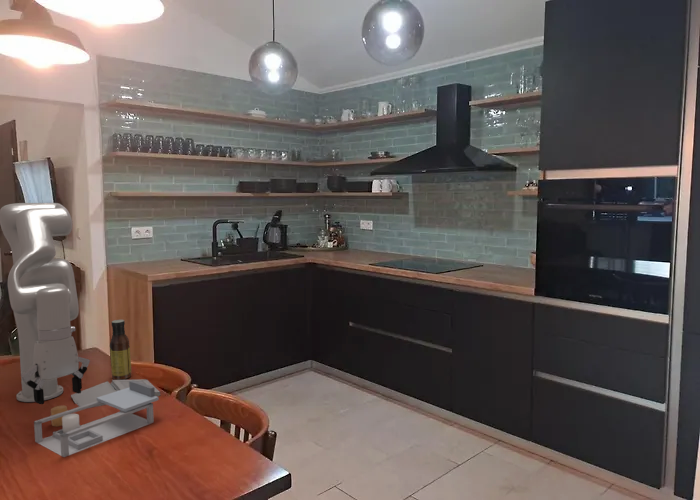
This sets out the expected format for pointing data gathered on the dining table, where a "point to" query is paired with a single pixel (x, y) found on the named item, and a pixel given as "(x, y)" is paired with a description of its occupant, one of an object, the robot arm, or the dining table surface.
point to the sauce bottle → (120, 352)
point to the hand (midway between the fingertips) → (58, 397)
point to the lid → (130, 397)
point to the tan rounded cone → (57, 410)
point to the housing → (91, 429)
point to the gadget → (104, 391)
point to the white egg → (70, 422)
